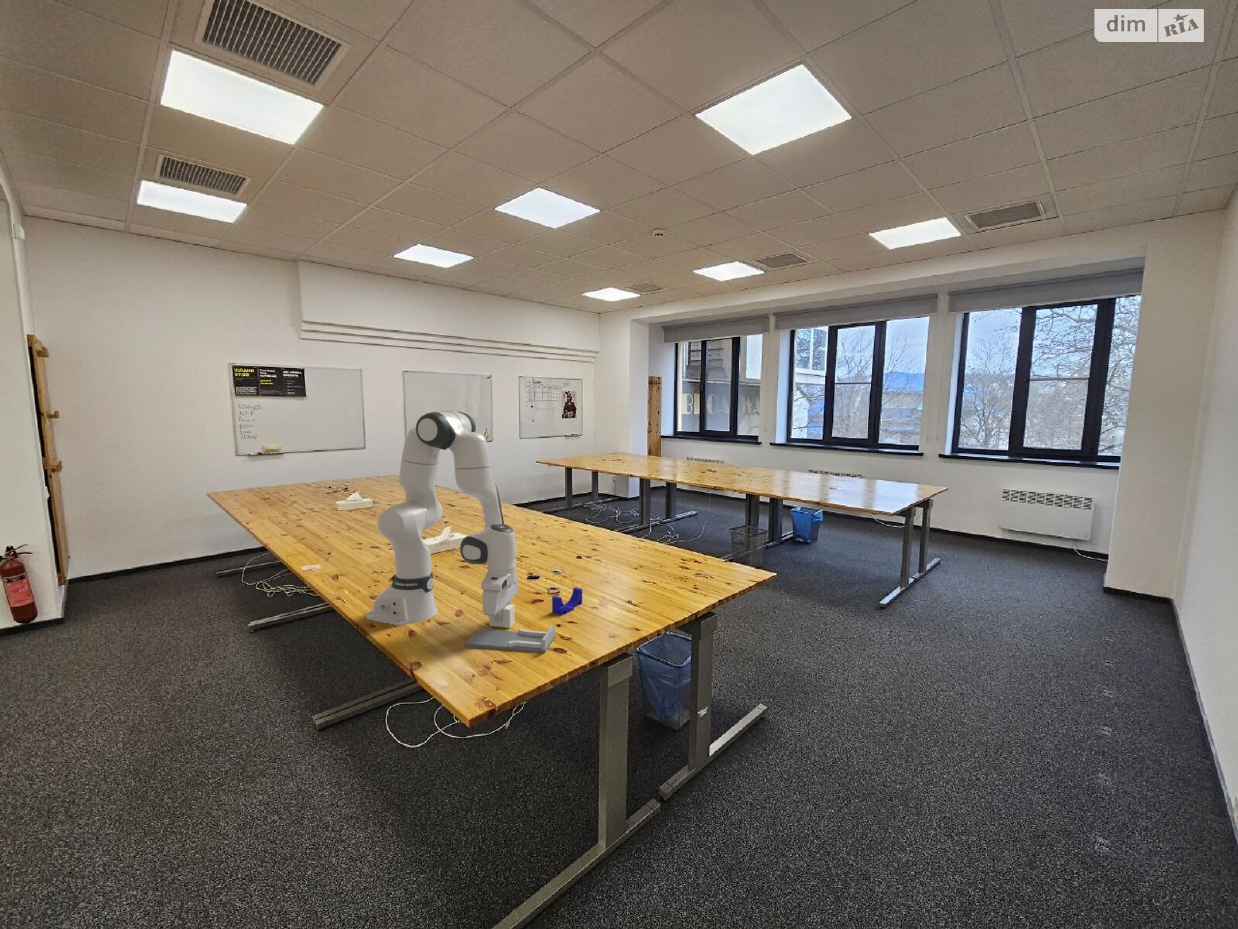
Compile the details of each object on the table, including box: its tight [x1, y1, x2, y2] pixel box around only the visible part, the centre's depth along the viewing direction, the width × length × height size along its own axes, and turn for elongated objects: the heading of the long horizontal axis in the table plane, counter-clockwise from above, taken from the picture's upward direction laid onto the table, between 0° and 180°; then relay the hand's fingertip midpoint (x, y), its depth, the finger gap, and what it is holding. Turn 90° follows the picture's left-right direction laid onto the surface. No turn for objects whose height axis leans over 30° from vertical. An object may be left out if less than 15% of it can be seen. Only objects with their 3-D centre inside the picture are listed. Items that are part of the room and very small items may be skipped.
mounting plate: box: [464, 625, 556, 654], centre depth 148 cm, size 24×10×4 cm, turn 81°
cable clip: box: [551, 586, 583, 616], centre depth 173 cm, size 12×4×6 cm, turn 143°
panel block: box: [488, 603, 516, 629], centre depth 160 cm, size 7×4×6 cm, turn 80°
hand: (501, 618), depth 160 cm, fingers closed on panel block, 4 cm apart
